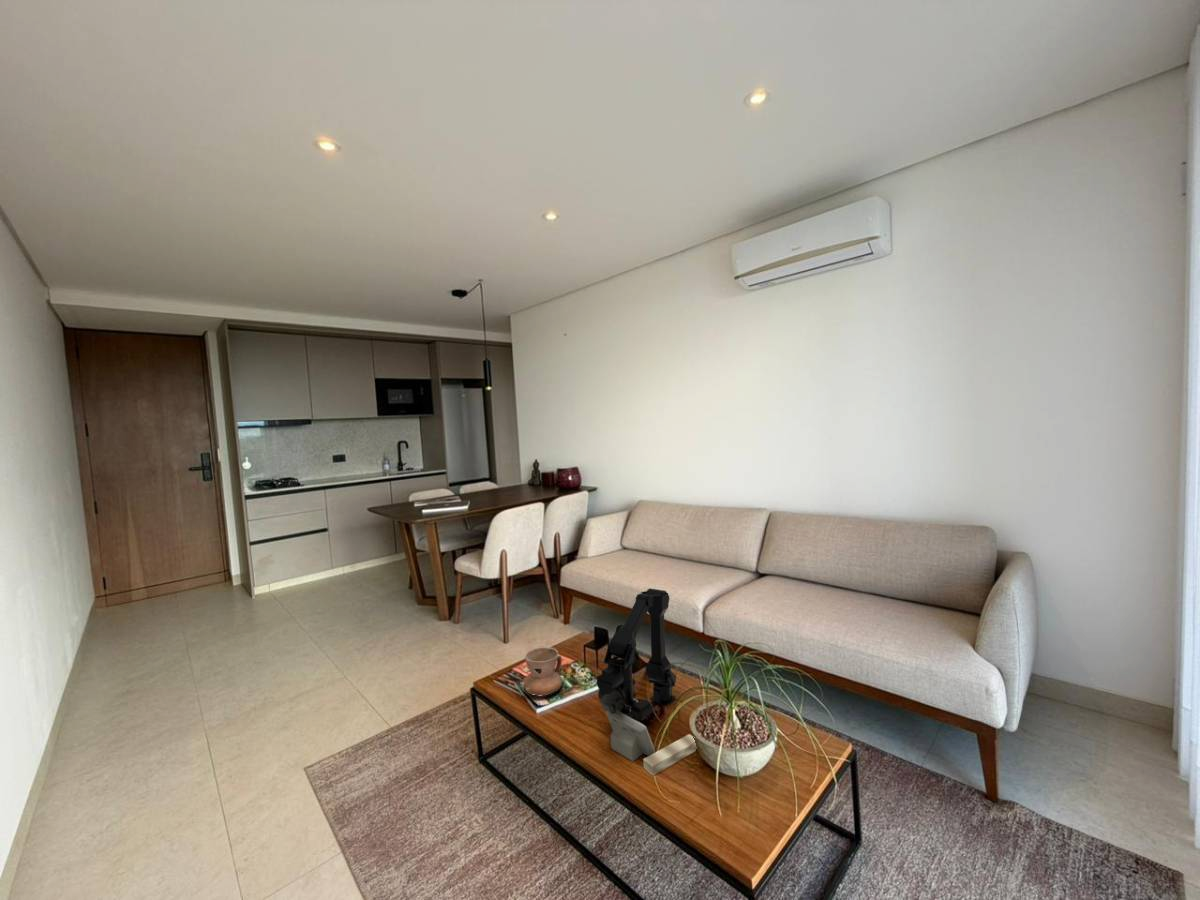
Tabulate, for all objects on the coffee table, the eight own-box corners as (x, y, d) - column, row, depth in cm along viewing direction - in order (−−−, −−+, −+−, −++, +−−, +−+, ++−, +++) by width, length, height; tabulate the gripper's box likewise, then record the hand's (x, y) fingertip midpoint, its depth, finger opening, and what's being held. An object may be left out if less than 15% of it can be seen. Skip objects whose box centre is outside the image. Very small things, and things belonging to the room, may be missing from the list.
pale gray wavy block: (689, 743, 150) (689, 733, 150) (699, 750, 147) (698, 740, 147) (643, 769, 140) (643, 759, 140) (652, 777, 137) (652, 766, 137)
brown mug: (536, 707, 174) (534, 668, 174) (513, 692, 185) (511, 655, 184) (574, 687, 187) (573, 650, 186) (551, 674, 197) (549, 639, 197)
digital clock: (658, 757, 144) (656, 722, 144) (633, 770, 140) (631, 734, 139) (626, 730, 158) (624, 697, 158) (603, 741, 153) (601, 707, 153)
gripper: (584, 678, 154) (587, 726, 155) (627, 700, 141) (630, 753, 142) (609, 665, 162) (612, 711, 163) (652, 684, 148) (655, 734, 149)
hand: (626, 726), depth 154 cm, fingers closed
